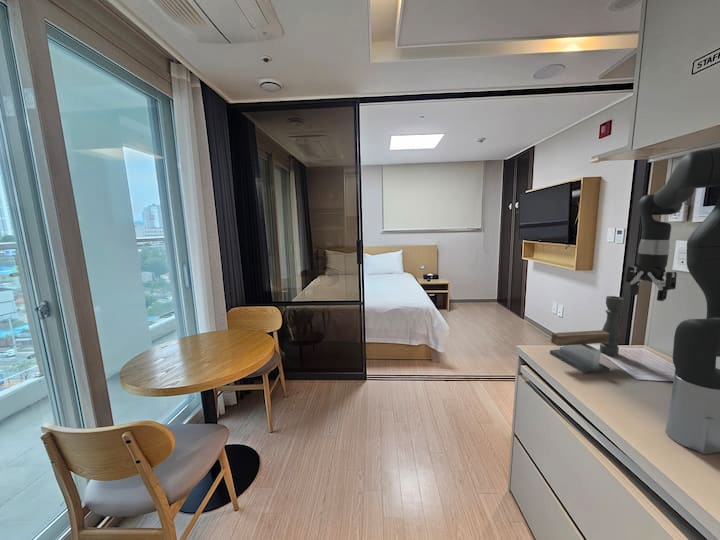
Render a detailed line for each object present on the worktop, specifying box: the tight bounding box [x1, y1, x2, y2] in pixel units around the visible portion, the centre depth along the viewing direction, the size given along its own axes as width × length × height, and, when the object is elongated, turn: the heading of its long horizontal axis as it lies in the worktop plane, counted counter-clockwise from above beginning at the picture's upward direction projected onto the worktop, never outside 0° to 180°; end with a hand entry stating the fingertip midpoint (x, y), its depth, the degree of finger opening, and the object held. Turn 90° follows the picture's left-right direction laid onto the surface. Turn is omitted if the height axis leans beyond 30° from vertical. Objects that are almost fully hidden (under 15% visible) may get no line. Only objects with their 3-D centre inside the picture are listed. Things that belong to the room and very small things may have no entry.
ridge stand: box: [549, 344, 611, 375], centre depth 119 cm, size 18×10×8 cm, turn 7°
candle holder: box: [599, 295, 625, 357], centre depth 125 cm, size 6×6×25 cm
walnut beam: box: [550, 329, 610, 347], centre depth 118 cm, size 4×22×4 cm, turn 95°
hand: (646, 297), depth 104 cm, fingers open, 8 cm apart
